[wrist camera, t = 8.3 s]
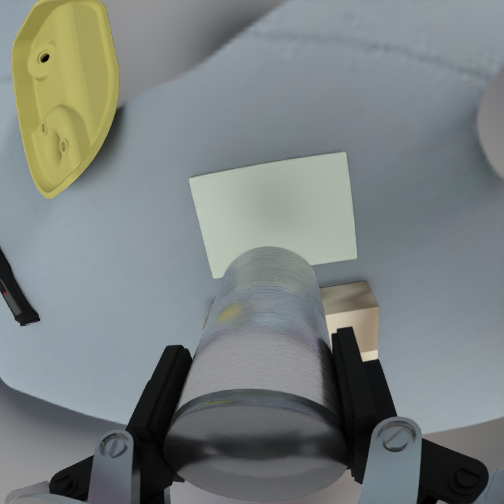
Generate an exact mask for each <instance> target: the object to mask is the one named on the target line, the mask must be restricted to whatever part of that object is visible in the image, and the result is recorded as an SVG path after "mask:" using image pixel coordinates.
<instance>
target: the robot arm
mask: <svg viewBox="0 0 504 504" xmlns="http://www.w3.org/2000/svg"><path fill="white" fill-rule="evenodd" d="M331 341H332V355H333V360H334V366H335V372H336V378H337V383H338V389H339V396H340V402H341V408H342V415H343V421H344V428H345V435H346V442H347V446H348V454H349V463H348V467H347V469H351V475H352V477H354V479H355V481H356V482H358V483H360V484H362V489H361V493H360V498H359V502H358V504H504V471H503V470H499V469H497V470H496V471H495V472H494V471H490V470H487V468H486V466H485V465H484V464H483V463H482V462H480V461H478V460H477V459H474V458H471V457H469V456H466V455H463V454H461V453H458V452H455V451H453V450H450V449H448V448H445V447H442V446H440V445H438V444H435V443H433V442H431V441H428V440H426V439H423V438H422V434H421V429H420V427H419V426H418V424H417V423H416V422H414V421H413V420H411V419H409V418H406V417H399V416H397V413H396V410H395V407H394V403H393V400H392V397H391V394H390V391H389V388H388V385H387V381H386V378H385V375H384V372H383V369H382V366H381V364H380V361H379V360H378V359H375V360H369V361H364V362H363V361H362V357H361V354H360V350H359V347H358V343H357V340H356V337H355V333H354V330H353V327H352V326H350V327H343V328H337V333H331ZM191 363H192V357H191V355H190V352H189V350H188V349H187V348H185V349H184V347H183V346H182V345H170V346H166V348H165V350H164V352H163V354H162V356H161V358H160V360H159V362H158V364H157V367H156V369H155V371H154V373H153V375H152V377H151V379H150V380H149V381H148V383H147V385H146V387H145V389H144V391H143V393H142V395H141V397H140V399H139V402H138V404H137V406H136V408H135V410H134V412H133V415H132V417H131V419H130V421H129V423H128V425H127V428H126V430H125V431H124V430H113V431H110V432H107V433H105V434H104V435H103V436H102V437H100V439H99V440H98V442H97V444H96V447H95V453H94V455H93V456H90V457H88V458H86V459H85V460H82V461H80V462H78V463H76V464H74V465H72V466H70V467H68V468H66V469H63V470H61V471H59V472H58V473H56V474H55V475H54V476H53V477H52V479H51V481H50V483H49V482H48V481H44V482H41V483H38V484H34V485H31V486H28V487H24V488H21V489H17V490H14V491H12V492H10V493H9V494H8V495H7V497H6V499H5V504H171V500H170V487H169V486H171V485H172V483H173V481H175V482H185V479H183V478H182V477H181V476H179V475H178V474H177V473H176V472H175V471H174V470H173V469H172V468H171V467H170V466H169V464H168V463H167V461H166V459H165V457H164V454H163V443H164V440H165V437H166V434H167V431H168V428H169V425H170V423H171V420H172V417H173V414H174V411H175V408H176V405H177V403H178V400H179V397H180V394H181V391H182V388H183V386H184V383H185V380H186V377H187V374H188V371H189V369H190V366H191ZM347 469H346V470H347Z"/></svg>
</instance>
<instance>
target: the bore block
mask: <svg viewBox="0 0 504 504" xmlns="http://www.w3.org/2000/svg"><path fill="white" fill-rule="evenodd" d="M320 293H321V297H322V302H323V307H324V312H325V317H326V322H327V327H328V332H329V337H330V342H331V348H332V341H331V333H337V328H343V327H350V326H352V327H353V330H354V333H355V337H356V340H357V343H358V347H359V350H360V354H361V357H362V361H363V362H364V361H369V360H375V359H377V358H378V331H379V306H378V304H377V302H376V300H375V297H374V295H373V293H372V291H371V289H370V287H369V285H368V283H367V281H363V282H357V283H351V284H344V285H338V286H331V287H325V288H320ZM212 305H213V302H212ZM212 305H211V308H212ZM211 308H210V310H209V313H210V311H211ZM209 313H208V316H209ZM208 316H207V318H206V321H205V324H206V322H207V319H208ZM205 324H204V326H203V329H202V330H204V327H205Z"/></svg>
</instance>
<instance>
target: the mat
mask: <svg viewBox="0 0 504 504" xmlns="http://www.w3.org/2000/svg"><path fill="white" fill-rule="evenodd" d="M189 182H190V186H191V191H192V195H193V199H194V203H195V208H196V212H197V216H198V220H199V224H200V228H201V232H202V236H203V240H204V244H205V248H206V252H207V256H208V260H209V264H210V268H211V271H212V275H213V279H216V278H223V276H224V273H225V271H226V269H227V268H228V266H229V265H230V264H231V262H232V261H233V260H234V259H235V258H237V257H238V256H239V255H241V254H242V253H244V252H246V251H248V250H251V249H254V248H258V247H265V246H275V247H281V248H285V249H288V250H291V251H293V252H295V253H297V254H298V255H300V256H301V257H303V258H304V259H305V260H306V261H307V262H308V263H309V264H310V265H317V264H324V263H330V262H337V261H344V260H350V259H357V250H356V237H355V225H354V215H353V205H352V196H351V187H350V179H349V171H348V164H347V157H346V152H335V153H328V154H320V155H313V156H306V157H299V158H293V159H286V160H280V161H274V162H268V163H262V164H256V165H250V166H245V167H240V168H234V169H229V170H224V171H219V172H214V173H209V174H204V175H199V176H195V177H191V178H189Z"/></svg>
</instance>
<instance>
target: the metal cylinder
mask: <svg viewBox="0 0 504 504" xmlns="http://www.w3.org/2000/svg"><path fill="white" fill-rule="evenodd" d="M163 454H164V457H165V459H166V461H167V463H168V464H169V466H170V467H171V468H172V469H173V470H174V471H175V472H176V473H177V474H178V475H179V476H181V477H182V478H183V479H185V480H186V481H188V482H190V483H191V484H193V485H195V486H197V487H199V488H201V489H203V490H206V491H208V492H211V493H214V494H217V495H220V496H224V497H228V498H234V499H238V500H246V501H259V502H260V501H261V502H270V501H283V500H290V499H296V498H300V497H304V496H308V495H310V494H313V493H316V492H318V491H321V490H323V489H325V488H326V487H328V486H330V485H331V484H333V483H334V482H335V481H337V480H338V479H339V478H340V477H341V476H342V475H343V473H344V472H345V471H346V469H347V467H348V463H349V454H348V446H347V442H346V435H345V428H344V421H343V415H342V408H341V402H340V396H339V389H338V383H337V378H336V372H335V366H334V360H333V355H332V348H331V342H330V337H329V332H328V327H327V322H326V317H325V312H324V307H323V302H322V297H321V293H320V288H319V283H318V279H317V276H316V274H315V272H314V270H313V268H312V267H311V265H310V264H309V263H308V262H307V261H306V260H305V259H304V258H303V257H301V256H300V255H298V254H297V253H295V252H293V251H291V250H288V249H285V248H281V247H275V246H265V247H258V248H254V249H251V250H248V251H246V252H244V253H242V254H241V255H239V256H238V257H237V258H235V259H234V260H233V261H232V262H231V264H230V265H229V266H228V268H227V269H226V271H225V273H224V276H223V278H222V281H221V284H220V286H219V289H218V292H217V294H216V297H215V300H214V302H213V305H212V308H211V311H210V313H209V316H208V319H207V322H206V324H205V327H204V330H203V333H202V335H201V338H200V341H199V344H198V346H197V349H196V352H195V355H194V357H193V360H192V363H191V366H190V369H189V371H188V374H187V377H186V380H185V383H184V386H183V388H182V391H181V394H180V397H179V400H178V403H177V405H176V408H175V411H174V414H173V417H172V420H171V423H170V425H169V428H168V431H167V434H166V437H165V440H164V443H163Z"/></svg>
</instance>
